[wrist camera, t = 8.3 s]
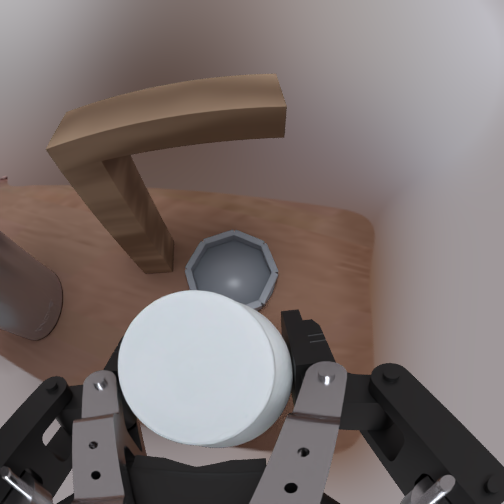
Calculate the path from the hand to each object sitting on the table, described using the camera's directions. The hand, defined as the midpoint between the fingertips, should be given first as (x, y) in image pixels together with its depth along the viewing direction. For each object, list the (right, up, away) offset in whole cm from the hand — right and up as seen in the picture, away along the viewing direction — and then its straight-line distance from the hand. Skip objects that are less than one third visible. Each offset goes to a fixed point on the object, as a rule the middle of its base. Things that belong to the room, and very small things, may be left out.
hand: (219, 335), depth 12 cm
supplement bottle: (0, -4, +3) cm, 5 cm away
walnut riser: (-3, +3, +17) cm, 17 cm away
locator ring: (-1, +1, +16) cm, 16 cm away
